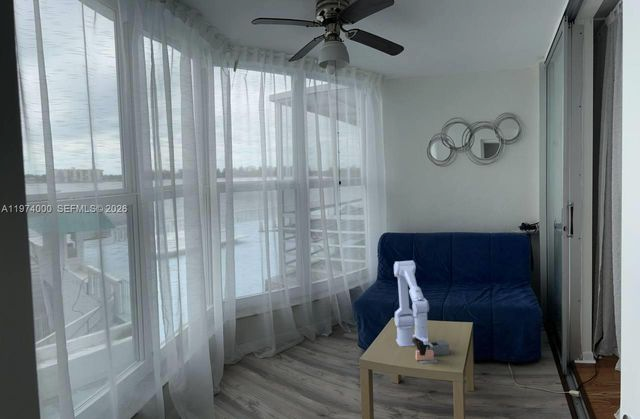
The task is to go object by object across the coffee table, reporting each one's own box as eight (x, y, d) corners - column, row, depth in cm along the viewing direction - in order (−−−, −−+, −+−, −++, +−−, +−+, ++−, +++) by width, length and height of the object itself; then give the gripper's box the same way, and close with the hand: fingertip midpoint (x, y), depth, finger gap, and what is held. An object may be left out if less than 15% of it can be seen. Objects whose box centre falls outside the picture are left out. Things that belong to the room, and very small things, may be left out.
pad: (416, 357, 205) (416, 356, 205) (432, 356, 206) (432, 355, 206) (421, 363, 198) (421, 362, 198) (437, 362, 199) (437, 361, 199)
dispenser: (427, 351, 212) (426, 341, 212) (444, 349, 213) (444, 339, 213) (431, 355, 206) (431, 345, 206) (449, 354, 207) (449, 344, 207)
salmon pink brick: (415, 358, 202) (415, 350, 202) (431, 358, 203) (432, 349, 203) (416, 360, 200) (417, 351, 200) (433, 359, 201) (433, 351, 201)
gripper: (408, 321, 208) (408, 348, 208) (417, 331, 193) (418, 360, 194) (422, 320, 208) (423, 347, 209) (432, 330, 194) (433, 359, 195)
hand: (421, 354), depth 201 cm, fingers closed on salmon pink brick, 2 cm apart
